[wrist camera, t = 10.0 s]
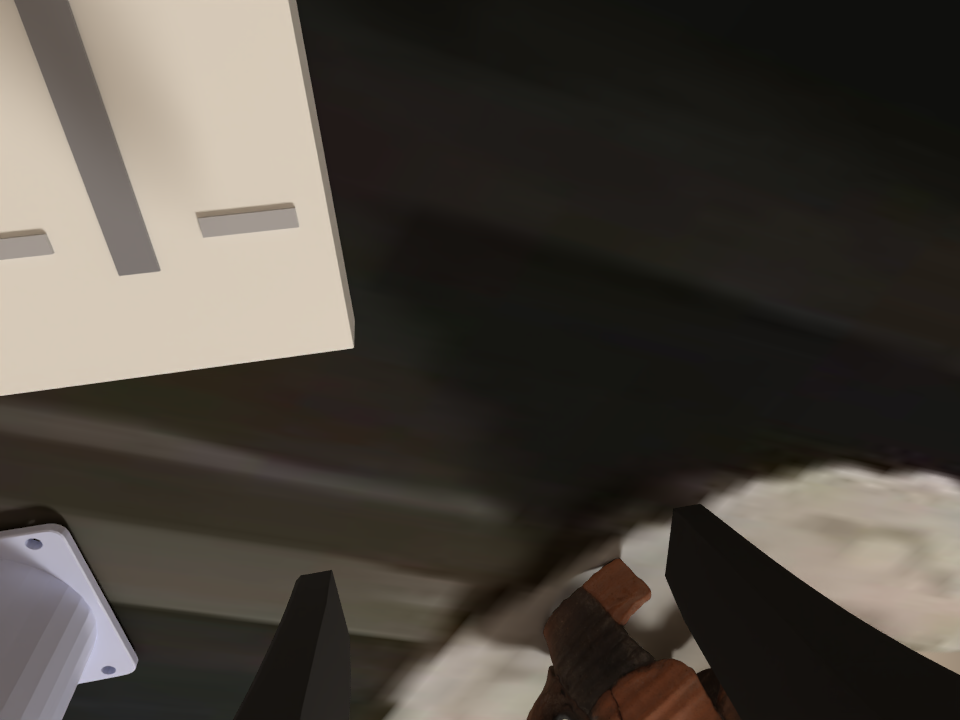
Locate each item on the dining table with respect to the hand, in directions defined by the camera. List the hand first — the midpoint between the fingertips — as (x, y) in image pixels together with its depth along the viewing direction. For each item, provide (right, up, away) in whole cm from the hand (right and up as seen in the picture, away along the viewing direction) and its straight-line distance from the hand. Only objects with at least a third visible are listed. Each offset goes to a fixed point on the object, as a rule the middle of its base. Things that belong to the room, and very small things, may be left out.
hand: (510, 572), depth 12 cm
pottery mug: (+6, -9, +17) cm, 20 cm away
